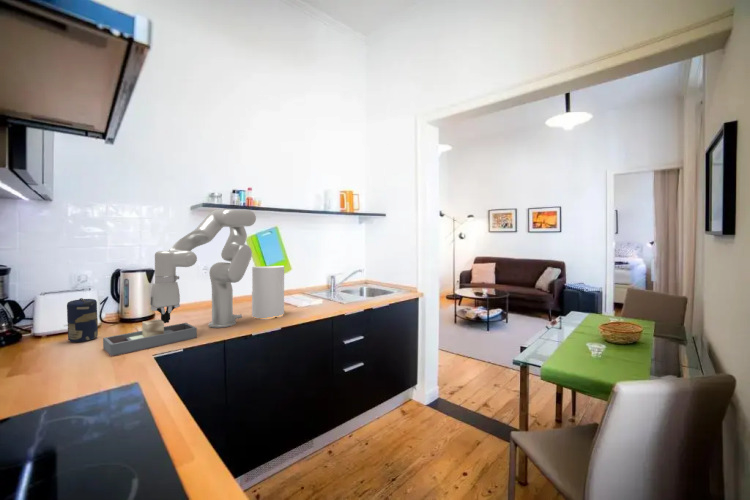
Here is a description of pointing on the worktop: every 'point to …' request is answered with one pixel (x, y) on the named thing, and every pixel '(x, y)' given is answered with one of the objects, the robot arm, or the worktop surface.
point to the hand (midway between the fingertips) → (165, 322)
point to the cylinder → (267, 291)
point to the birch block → (152, 327)
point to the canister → (82, 320)
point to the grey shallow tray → (148, 339)
